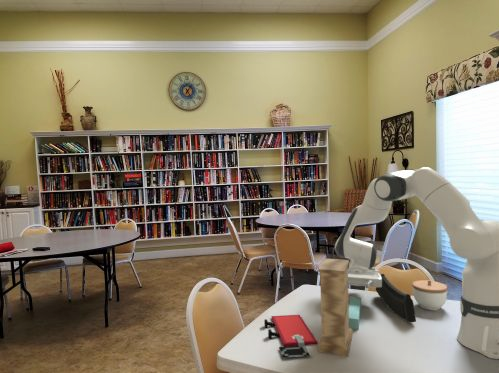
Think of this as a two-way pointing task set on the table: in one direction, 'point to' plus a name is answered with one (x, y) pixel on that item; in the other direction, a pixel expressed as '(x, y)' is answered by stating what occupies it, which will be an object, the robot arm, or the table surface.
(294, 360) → the table surface
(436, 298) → the lidded bowl
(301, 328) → the red board with handle
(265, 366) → the table surface
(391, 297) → the magazine
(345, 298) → the pedestal
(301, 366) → the table surface
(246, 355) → the table surface
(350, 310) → the rod
